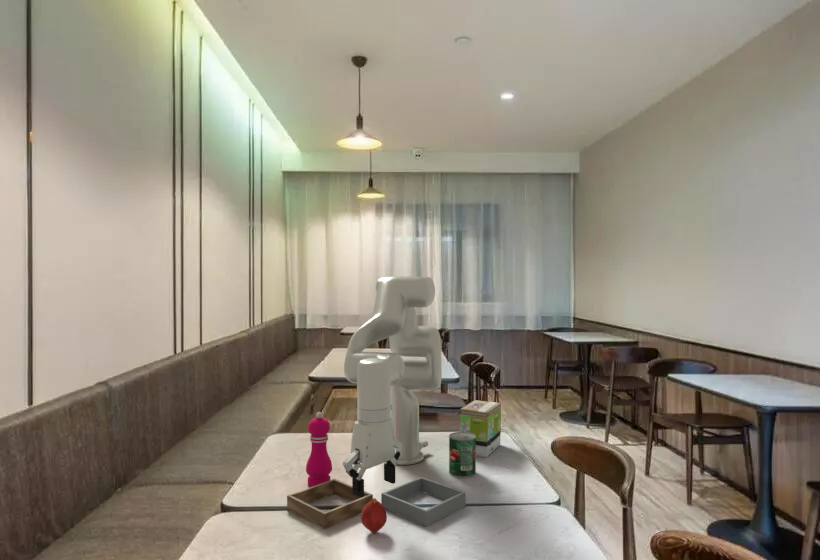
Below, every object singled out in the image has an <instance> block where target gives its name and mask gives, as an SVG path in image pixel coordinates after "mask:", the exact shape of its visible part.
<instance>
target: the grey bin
mask: <svg viewBox="0 0 820 560" xmlns="http://www.w3.org/2000/svg"><path fill="white" fill-rule="evenodd" d="M422 491H423V492H422ZM418 492H419V493H421V492H422V493H425V494H428V495H430V494H431V496H433V497H436V498H438V499H441V500H443V501H441V502H439V503H437V504H434V505H432V506H431V507H429V508H426V509H425V508H423V507H421V506H418V505H415V504H414V503H413V504H412V503H411V502H408V501H406V500H405V499H408V498H409V497H411V496H414V495H416V494H419V493H418ZM466 495H467V494H466V491H463V490H460V489H458V488H454V487H452V486H449V485H446V484H443V483H440V482H437V481H434V480H432V479H429V478H426V477H423V476H420V477H418V478H415V479H413V480H410V481H408V482H405V483H403V484H401V485H398V486H395V487H394V488H393V487H392V488H391V489H389V490H386V491H384V492H381V495H380V496H381V500H380V501H381V502H380V503H381V504H382V505H383V506H384V507H385V509H386V511H390V512H391V513H393V514H397V515H399V516H401V517H403V518H405V519H408V520H410V521H413V522H415V523H417V524H420V525H421V526H424V527H428V526H430V525H432V524H433V523H436V522H438V521H440V520H441V519H443V518H446V517H447V516H449V515H451V514H453V513H455V512H457V511H459V510H461V509H463V508H465V507H466V503H467V502H466V499H467V496H466Z"/></svg>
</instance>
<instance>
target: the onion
mask: <svg viewBox="0 0 820 560" xmlns="http://www.w3.org/2000/svg"><path fill="white" fill-rule="evenodd" d="M360 518H361V523H362V525H363V526H364V528H366V529H367V530H368V531H369V532H370V533H371V534H375V533H378V531H380V530H381V529H383V527H384V526H385V524H386V523H387V520H388V514H387V509H385V507H384V506H383V505H382V504H381V502H380V501H378V500H377V498H375V497H373V499H372V500H371V501H370V502H369V503H367V504H366V505H365V507H364V508H363V510H362V513H361V514H360Z"/></svg>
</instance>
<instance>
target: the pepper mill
mask: <svg viewBox="0 0 820 560" xmlns="http://www.w3.org/2000/svg"><path fill="white" fill-rule="evenodd" d="M330 428H331V424H330V421H329V420H328V419H327V418H325V417H323V413H322V412H320V411H317V412H316V414H315V417H314V418H312V419H311V420H310V421H309V423H308V426H307V429H308V430H307V431H308V432H309V434H310V436H309V441H310V442H311V450H310V455H309V457H308V459H307V462H306V466H305V473H306V474H307V475H308V477H307V485H308V486H309V488H310V487H313V486H316V485H318V484H321V483H324V482H327V481H330V480H331V476H330V474H331V473H332V470H333V465H332V459H331V458H330V455H329V453H328V448H327V447H328V446H327V442H328V441H329V434H328V433H329V432H330Z"/></svg>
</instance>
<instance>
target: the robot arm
mask: <svg viewBox="0 0 820 560" xmlns="http://www.w3.org/2000/svg"><path fill="white" fill-rule="evenodd" d="M375 292H376V296H375V300H374V306H373V310H372V314H371V316H372V317H371V318H370V319H368V320H367V321H366V322H364V323H363V324H362V325H361V326H359V328H358V329H357V330H356V331H355V332H354V333H353V334H352V336H351V337H350V340H349V342H348V344H347V347H346V348H347V350H346V354H345V358H344V365H343V372H344V373H343V374H344V377H345V379H346V380H347V381H348V382H350V383H352V384H356V390H357V391H356V393H357V394H356V395H357V396H356V397H357V399H356V401H357V405H356V408H357V410H356V412H357V415H356V417H357V419H356V421H354V423H353V427H352V434H351V441H350V455H348V456H347V458H345V460H344V461H343V462H342V466H343V468H344V469H345V473H346V474H347V475H348V476H349V477H350V478H351V480H352V481H351V482H352V485H351V486H352V492H353V494H354V495H356V496H358V497H361V498H362V497H364V491H365V480H364V478H363V477H364V475H365V473H366V470H368V469H372V468H374V467H377V466H379V465H381V464H384V465H383V481H385V482H388V483H389V484H392V485H394V484H396V466H397V465H399V466H400V465H402V466H405V465H407V466H408V465H409V466H410V465H414V464H418V463H420V462H422V461H423V460H424V457H425V454H424V453H423V452H422V449H423V448H426V447H428V446H429V442H428V440H423V441H420V416H419V415H420V404H419V400H418V398H417V396H416V395H415V394H414V393H413V390H421V391H422V390H425V391H428V390H429V391H430V390H431V391H432V390H437V389H438V388H439V387H440V386H441V383H442V377H443V376H442V373H443V372H442V370H443V369H442V342H441V340H442V339H441V334H440V332H439V330H438V329H437V328H436V327H433V326H430V325H429V326H427V325H419V326H418V325H417V310H416V309H415V308H428V307H429V306H431V305H432V304H433V302H434V299H435V296H436V286H435V283H434V280H433V279H432V278H431V277H430V276H405V275H403V276H397V275H395V276H394V275H393V276H384V277H380V278H378V279H377V281H376V284H375ZM386 339H389V349H390V352H383V351H382V352H379V351H377V352H376V351H364V350H365V349H366V348H368V347H369V346H371V345H373V344H375V343H378V342H380V341H383V340H386ZM402 357H403V358H402ZM404 357H407V358H404ZM409 357H410V358H409ZM411 357H412V358H411ZM415 357H416V358H415ZM358 470H359V471H358Z"/></svg>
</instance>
